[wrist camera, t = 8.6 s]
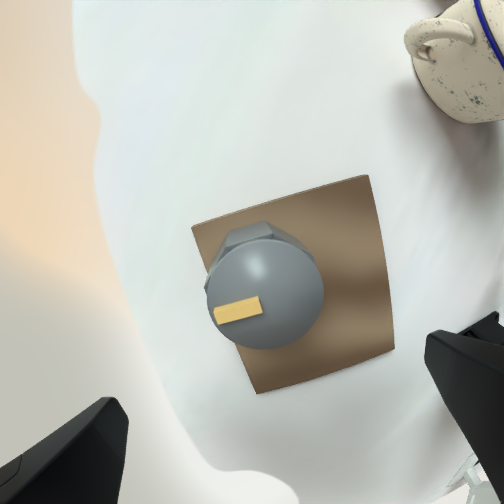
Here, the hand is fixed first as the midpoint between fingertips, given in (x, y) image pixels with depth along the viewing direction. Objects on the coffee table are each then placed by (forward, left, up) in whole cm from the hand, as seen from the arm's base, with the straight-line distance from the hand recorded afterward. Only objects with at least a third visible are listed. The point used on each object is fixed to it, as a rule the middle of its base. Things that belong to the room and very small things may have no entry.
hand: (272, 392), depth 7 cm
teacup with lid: (+10, -18, -12) cm, 23 cm away
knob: (0, 0, -11) cm, 11 cm away
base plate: (-3, -3, -12) cm, 12 cm away
